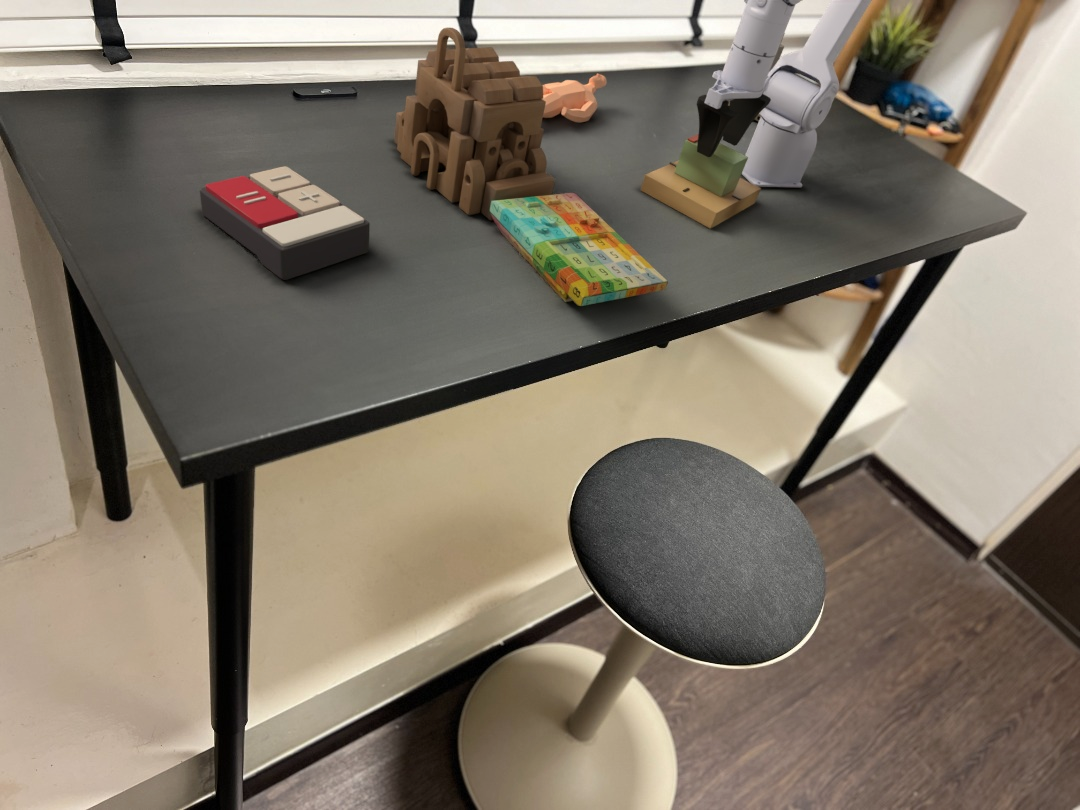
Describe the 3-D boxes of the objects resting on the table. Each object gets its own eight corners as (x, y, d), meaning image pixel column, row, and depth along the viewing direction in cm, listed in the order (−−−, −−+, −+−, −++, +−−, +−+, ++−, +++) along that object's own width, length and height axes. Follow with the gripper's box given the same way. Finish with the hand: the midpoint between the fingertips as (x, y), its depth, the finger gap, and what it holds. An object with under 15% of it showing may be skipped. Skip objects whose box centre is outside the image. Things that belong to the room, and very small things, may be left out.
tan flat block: (687, 168, 121) (693, 152, 119) (755, 203, 116) (762, 187, 114) (639, 190, 111) (644, 172, 110) (711, 229, 107) (717, 212, 105)
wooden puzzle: (560, 207, 103) (596, 63, 90) (470, 226, 94) (496, 70, 82) (464, 132, 113) (485, -5, 101) (376, 144, 105) (387, -5, 93)
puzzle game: (573, 185, 97) (670, 274, 86) (564, 219, 100) (657, 309, 89) (492, 193, 91) (585, 290, 80) (485, 228, 94) (574, 326, 83)
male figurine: (471, 88, 117) (582, 58, 131) (468, 120, 121) (576, 87, 135) (520, 118, 113) (629, 84, 127) (516, 150, 116) (623, 113, 130)
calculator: (287, 161, 89) (371, 216, 83) (288, 196, 92) (370, 252, 85) (196, 181, 82) (281, 243, 75) (201, 218, 85) (283, 281, 78)
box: (735, 189, 112) (749, 155, 109) (721, 197, 109) (734, 162, 106) (689, 165, 115) (701, 131, 112) (674, 172, 112) (685, 138, 109)
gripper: (752, 30, 106) (717, 126, 115) (701, 43, 97) (667, 146, 106) (797, 50, 104) (758, 146, 113) (749, 65, 94) (710, 169, 103)
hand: (717, 148), depth 109 cm, fingers open, 7 cm apart
